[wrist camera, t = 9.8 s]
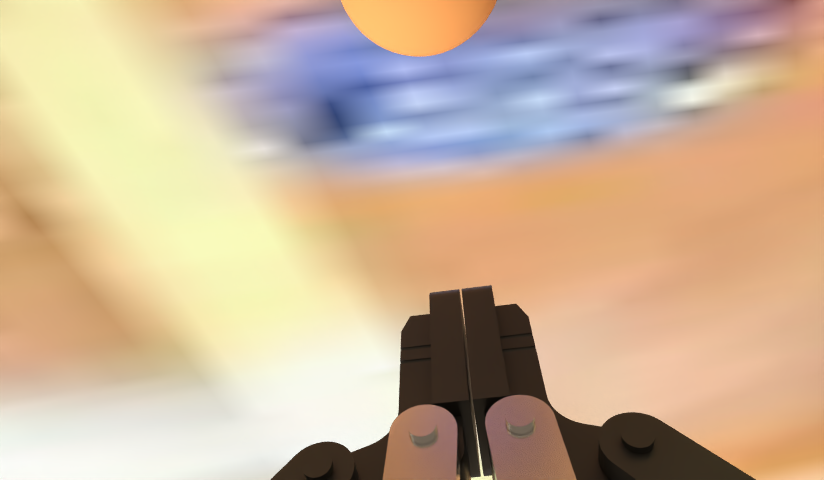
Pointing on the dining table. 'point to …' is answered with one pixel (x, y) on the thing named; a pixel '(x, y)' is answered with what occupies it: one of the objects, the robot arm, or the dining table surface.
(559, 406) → the dining table surface
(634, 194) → the dining table surface
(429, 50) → the ball
